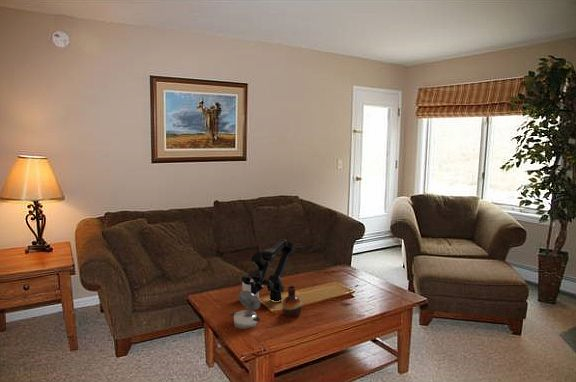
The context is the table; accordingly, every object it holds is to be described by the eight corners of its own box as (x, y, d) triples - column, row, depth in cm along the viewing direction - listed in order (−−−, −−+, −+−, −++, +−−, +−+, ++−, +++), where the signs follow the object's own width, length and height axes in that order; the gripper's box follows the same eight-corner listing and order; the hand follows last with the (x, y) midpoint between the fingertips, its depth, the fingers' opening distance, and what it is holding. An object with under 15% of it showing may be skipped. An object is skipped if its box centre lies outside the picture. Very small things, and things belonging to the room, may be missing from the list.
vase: (295, 320, 211) (294, 292, 209) (278, 315, 217) (277, 289, 215) (305, 312, 221) (305, 285, 219) (289, 308, 226) (288, 282, 224)
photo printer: (260, 298, 242) (259, 279, 240) (257, 301, 237) (256, 281, 236) (244, 297, 245) (243, 278, 243) (241, 299, 241) (240, 280, 239)
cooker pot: (238, 315, 219) (238, 307, 218) (265, 321, 210) (265, 313, 210) (225, 324, 208) (225, 316, 208) (252, 331, 200) (252, 323, 199)
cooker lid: (242, 307, 218) (244, 304, 219) (262, 311, 211) (263, 308, 213) (235, 290, 211) (237, 287, 213) (255, 294, 205) (257, 291, 207)
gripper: (241, 261, 221) (230, 287, 212) (270, 266, 212) (259, 292, 203) (250, 271, 228) (240, 296, 220) (278, 275, 219) (268, 301, 211)
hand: (251, 296), depth 214 cm, fingers closed
